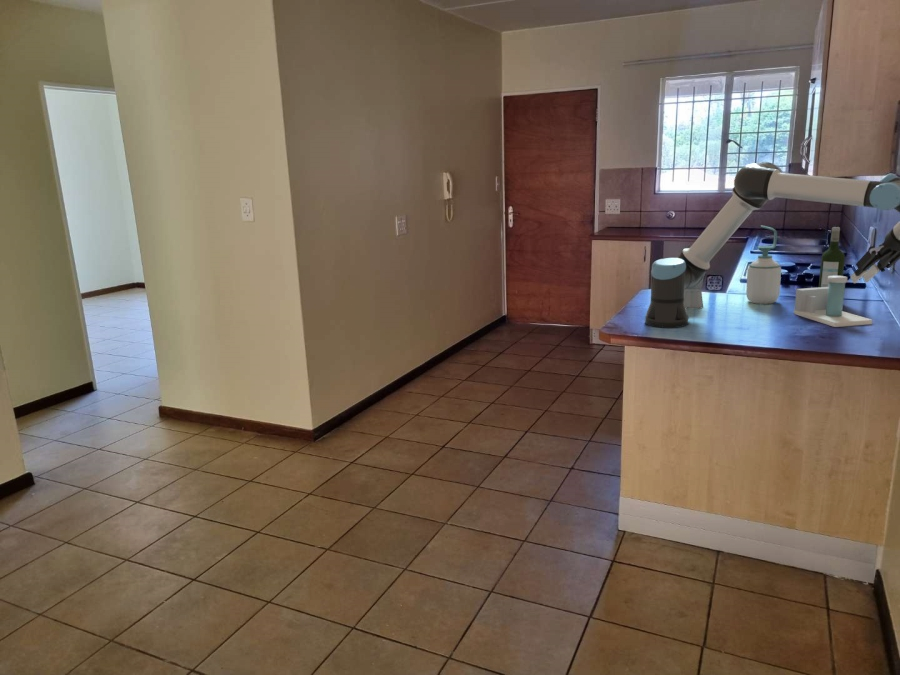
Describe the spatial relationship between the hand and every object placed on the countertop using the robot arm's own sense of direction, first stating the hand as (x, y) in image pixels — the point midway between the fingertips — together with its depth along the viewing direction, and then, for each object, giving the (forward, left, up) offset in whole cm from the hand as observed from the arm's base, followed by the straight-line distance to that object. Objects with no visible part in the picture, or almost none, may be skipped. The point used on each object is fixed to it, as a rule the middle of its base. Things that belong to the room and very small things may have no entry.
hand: (859, 279), depth 220 cm
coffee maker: (+24, +53, -16) cm, 60 cm away
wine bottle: (+38, +3, -16) cm, 41 cm away
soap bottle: (+36, +27, -16) cm, 48 cm away
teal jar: (+9, +5, -14) cm, 18 cm away
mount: (+9, +5, -16) cm, 19 cm away
